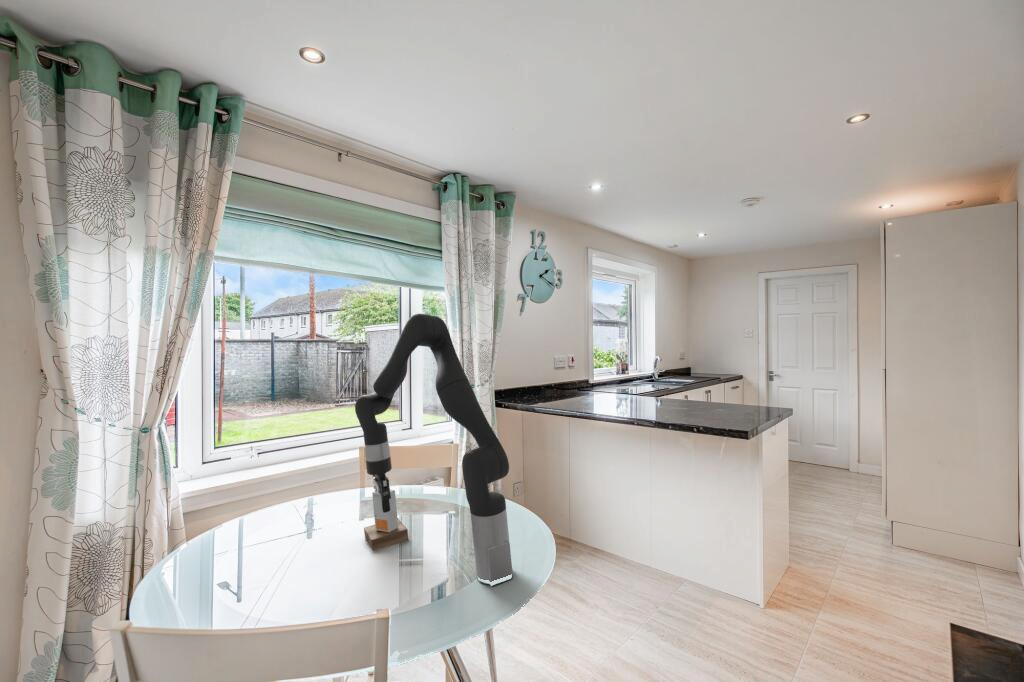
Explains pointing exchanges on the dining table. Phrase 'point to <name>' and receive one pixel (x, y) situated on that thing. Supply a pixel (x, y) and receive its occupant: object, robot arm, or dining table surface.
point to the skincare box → (387, 519)
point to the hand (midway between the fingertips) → (383, 507)
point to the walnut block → (385, 536)
